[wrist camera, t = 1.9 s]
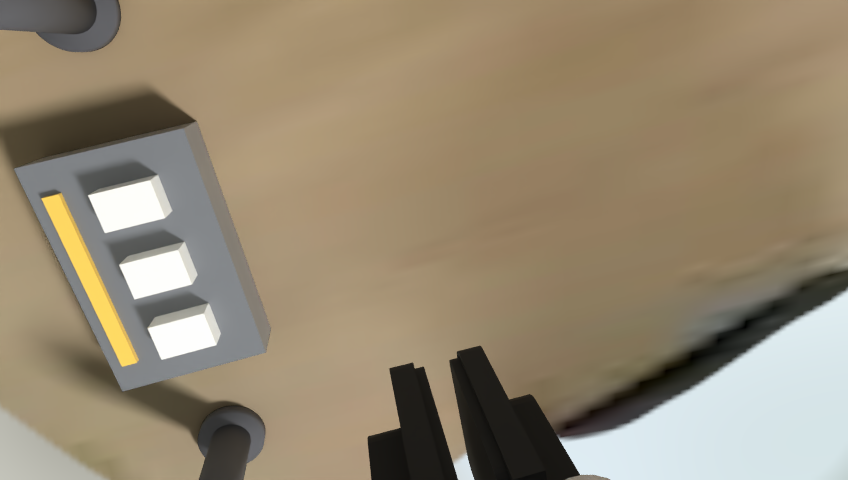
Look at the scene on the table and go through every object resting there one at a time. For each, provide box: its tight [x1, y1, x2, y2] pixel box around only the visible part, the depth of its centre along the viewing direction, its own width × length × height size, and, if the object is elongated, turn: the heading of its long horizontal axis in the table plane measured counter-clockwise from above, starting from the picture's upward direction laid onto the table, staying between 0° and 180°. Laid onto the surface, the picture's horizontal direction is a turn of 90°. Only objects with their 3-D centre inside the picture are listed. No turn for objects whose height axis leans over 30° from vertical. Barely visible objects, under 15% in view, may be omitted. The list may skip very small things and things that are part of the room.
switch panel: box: [14, 121, 271, 392], centre depth 37 cm, size 16×10×6 cm, turn 13°
